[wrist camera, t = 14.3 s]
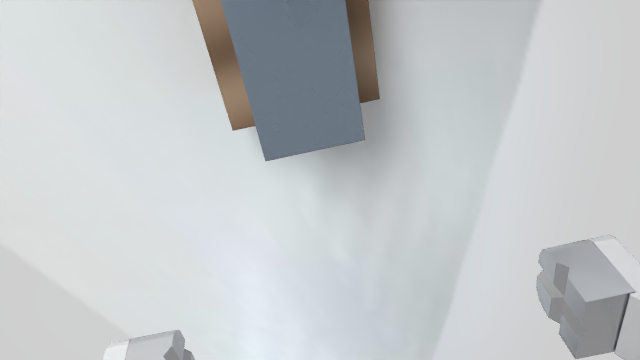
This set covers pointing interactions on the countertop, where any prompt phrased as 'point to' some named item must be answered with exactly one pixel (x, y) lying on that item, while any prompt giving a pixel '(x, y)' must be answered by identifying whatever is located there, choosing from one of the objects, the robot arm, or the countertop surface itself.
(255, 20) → the block
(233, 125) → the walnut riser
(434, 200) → the countertop surface
